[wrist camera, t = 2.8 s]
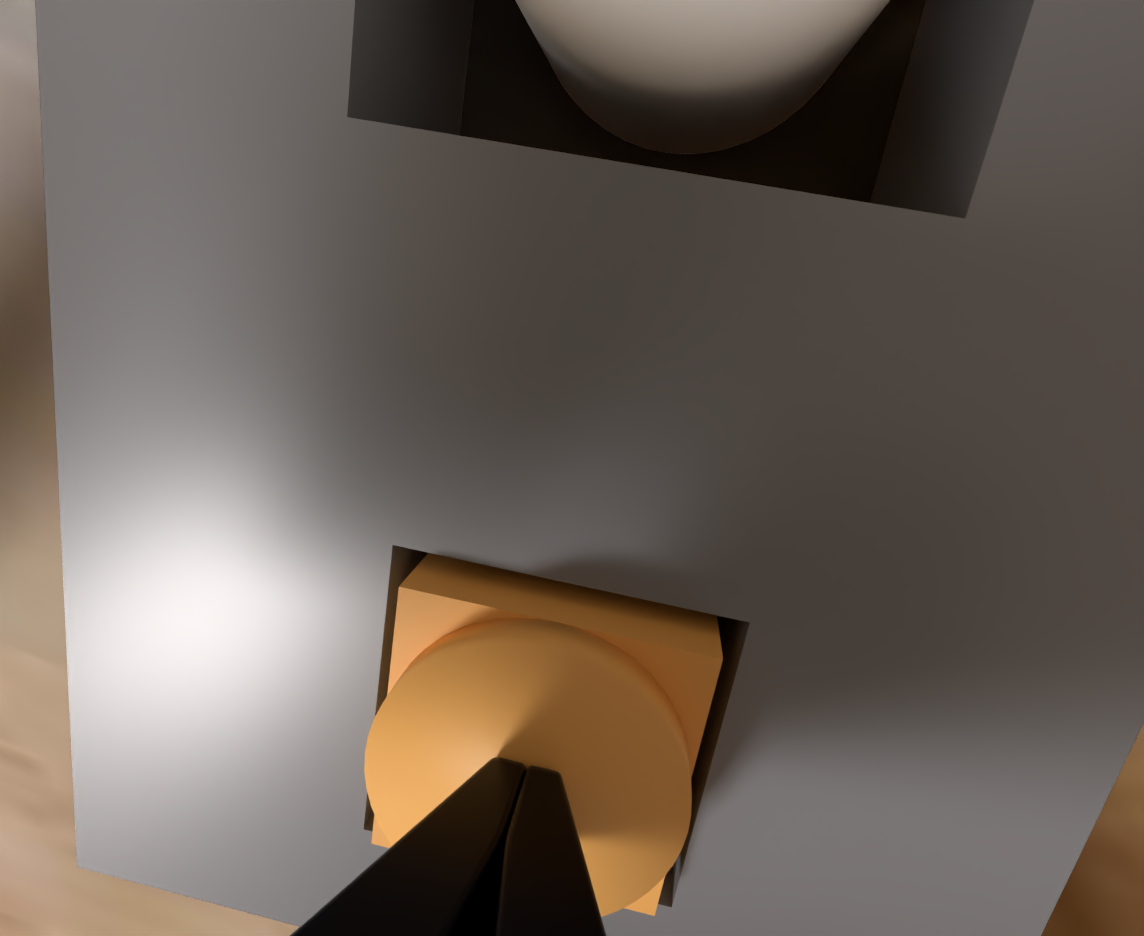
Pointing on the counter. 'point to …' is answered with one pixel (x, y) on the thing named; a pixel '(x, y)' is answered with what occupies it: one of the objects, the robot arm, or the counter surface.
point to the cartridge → (695, 63)
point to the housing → (600, 448)
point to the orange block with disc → (548, 710)
